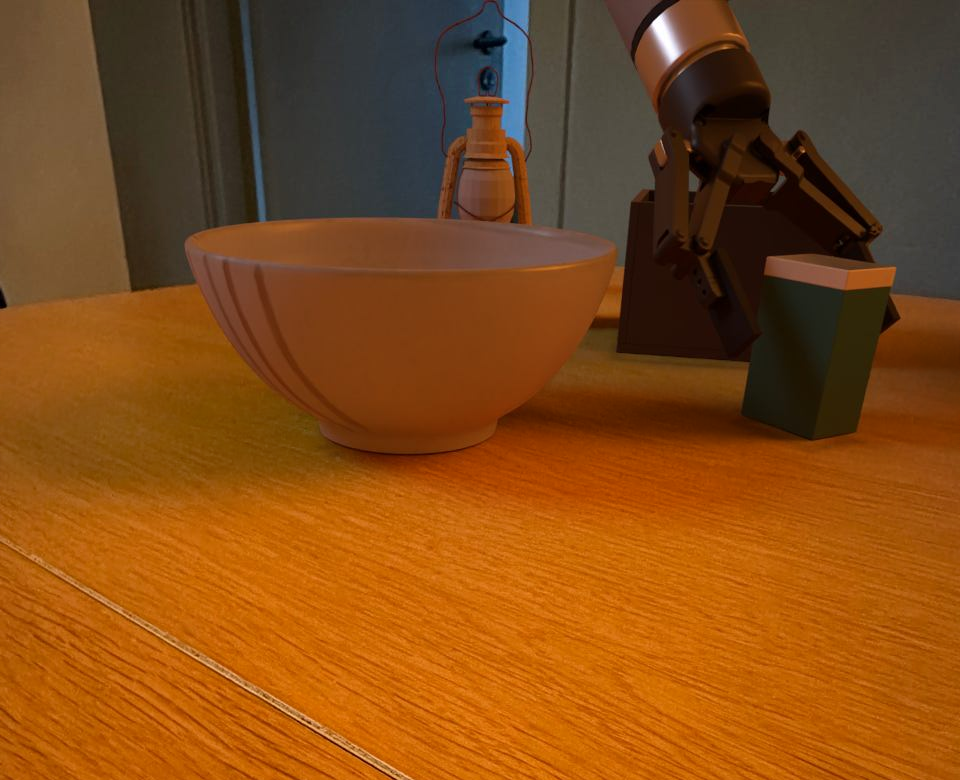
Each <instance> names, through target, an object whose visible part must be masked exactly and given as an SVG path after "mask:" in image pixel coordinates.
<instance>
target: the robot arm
mask: <svg viewBox="0 0 960 780" xmlns="http://www.w3.org/2000/svg"><path fill="white" fill-rule="evenodd" d="M729 1H730V0H604V2H605V7H606V9H607V11H608V12H609V14H610V16H611V18H612V20H613V22H614V24H615V26H616V28H617V31H618V33H619V35H620V37H621V40H622V43H623V44H624V47H625V48H626V50H627V53H628V55H629V57H630V60H631V61H632V64H633V66H634V68H635V70H636V71H637V74H638V76H639V78H640V80H641V82H642V85H643V86H644V89H645V91H646V94H647V96H648V98H649V101H650V103H651V105H652V107H653V110H654V112H655V114H656V115H657V121H658V123H659V126H660V129H661V131H662V135H661V136H660V138H659V140H658V141H657V142H656V144H655V145H654V146H653V148H652V149H651V151H650V153H649V154H648V156H647V159H648V162H649V166H650V168H651V171H652V175H653V177H654V190H655V196H654V228H653V259H654V261H655V262H656V263H657V264H658V265H659V266H666V265H667V264H668V263H673V264H674V265H673V267H672V268H671V274H672V276H673V277H674V278H675V279H677V280H680V281H682V280H684V279H685V278H686V277H687V275H688V277H689V280H690V282H691V284H692V287H693V289H694V290H695V294H696V295H697V298H698V301H699V303H700V304H701V306H702V307H703V308H704V309H705V310H708V312H709V314H710V317H711V319H712V321H713V324H714V326H715V328H716V331H717V333H718V335H719V337H720V340H721V342H722V344H723V347H724V349H725V351H726V354H727V356H728V358H735V357H738V356H739V355H740V354H741V353H742V352H743V351H744V350H745V349H746V348H747V347H749V346H750V345H751V344H752V343H753V342H754V341H755V340H756V339H757V338H758V337H759V336H760V335H762V331H761V329H760V327H759V325H758V322H757V320H756V318H755V315H754V313H753V311H752V309H751V306H750V304H749V302H748V300H747V297H746V295H745V293H744V291H743V288H742V286H741V284H740V282H739V279H738V277H737V275H736V273H735V270H734V268H733V266H732V264H731V261H730V259H729V257H728V255H727V252H726V250H725V248H724V249H716V250H715V251H714V252H713V253H712V254H710V252H709V250H710V249H711V248H712V246H713V242H714V239H715V236H716V232H717V229H718V226H719V222H720V219H721V216H722V212H723V209H724V206H725V202H727V203H737V202H740V201H745V202H749V203H759V204H760V205H761V206H762V207H764V208H765V209H766V210H768V211H774V210H777V211H779V212H780V213H781V214H782V215H783V216H785V217H786V218H787V219H788V220H789V221H791V222H792V223H793V224H794V225H795V226H797V227H798V228H799V229H800V230H801V231H803V232H804V233H805V234H806V235H808V236H809V237H810V238H811V239H812V240H814V241H815V242H816V243H817V244H818V245H820V246H821V247H822V248H823V249H824V250H826V251H827V252H828V253H829V254H830V255H832V257H837V258H843V259H849V260H855V261H862V262H868V263H874V264H877V262H876V260H875V258H874V256H873V254H872V252H871V249H870V244H871V243H873V242H874V241H875V240H876V239H877V238H878V237H880V235H881V234H882V233H883V231H884V227H883V225H882V224H881V222H880V221H879V220H878V219H877V218H876V216H874V214H873V213H872V212H871V211H870V210H869V209H868V207H866V206H865V205H864V203H863V202H862V201H861V200H860V199H859V198H858V196H856V194H855V193H854V192H853V191H852V190H851V188H849V186H848V185H847V184H846V183H845V182H844V181H843V180H842V178H841V177H840V176H839V175H838V174H837V173H836V172H835V170H833V168H832V167H831V166H830V165H829V164H828V163H827V162H826V161H825V159H823V157H822V156H821V155H820V154H819V152H818V149H817V148H816V147H815V145H814V143H813V141H812V140H811V138H810V136H809V135H808V133H807V132H806V131H804V130H802V129H798V130H797V131H796V132H795V133H794V135H792V137H791V138H790V139H788V140H781V138H779V137H778V136H777V134H776V133H775V132H774V131H773V129H772V128H771V126H770V125H769V119H770V111H771V104H772V95H771V91H770V88H769V86H768V84H767V82H766V80H765V78H764V76H763V74H762V71H761V69H760V67H759V65H758V62H757V60H756V59H755V56H754V55H753V54H752V53H751V52H750V51H751V49H750V44H749V42H748V40H747V38H746V36H745V34H744V31H743V30H742V28H741V26H740V24H739V21H738V19H737V17H736V16H735V13H734V11H733V9H732V7H731V6H730V4H729ZM690 172H691V174H693V175H694V176H695V177H696V178H697V179H698V186H697V190H696V191H697V192H696V196H695V199H694V202H693V204H694V205H695V206H694V209H693V212H692V216H691V219H690V222H689V225H688V215H689V191H690ZM780 176H781V177H784V180H783V181H782V183H780V185H779V186H777V188H776V189H775V190H774V191H772V190H773V189H774V187H776V185H777V184H778V182H779V180H780ZM901 319H902V318H901V315H900V313H899V311H898V308H897V307H896V305H895V303H894V301H893V299H892V297H891V295H890V293H889V297H888V302H887V306H886V310H885V314H884V318H883V322H882V327H881V331H880V335H882V334H883V333H884V332H886V331H887V330H888V329H889V328H891V327H892V326H893V325H894V324H896V323H897V322H898V321H900V320H901Z"/></svg>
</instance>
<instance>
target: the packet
mask: <svg viewBox="0 0 960 780" xmlns="http://www.w3.org/2000/svg"><path fill="white" fill-rule="evenodd" d="M896 271H897V267H896V266H891V265H887V264H886V265H885V264H879V263H876V264H874V263H868V262H862V261H855V260H849V259H843V258H837V257H833V256H832V257H831V256H825V255H819V254H800V255H784V256H768V257H767V259H766V265H765V271H764V275H765V276H764V282H763V288H762V294H761V299H760V305H759V311H758V317H757V322H758V325H759V327H760V329H761V331H762V335H760V336H759V337H758V338H757V339H756V340H755V341H754V342H753V346H752V352H751V358H750V361H749V365H748V370H747V375H746V381H745V388H744V394H743V400H742V404H741V411H740V415H742V416H745V417H748V418H750V419H753V420H755V421H759V422H761V423H764V424H766V425H770V426H772V427H776V428H778V429H780V430H784V431H786V432H789V433H791V434H794V435H797V436H799V437H800V436H801V437H803V438H805V439H809V440H811V441H815V440H820V439H826V438H831V437H836V436H841V435H847V434H851V433H857V431H858V427H859V422H860V418H861V414H862V411H863V410H862V409H863V405H864V401H865V399H866V398H865V397H866V393H867V389H868V384H869V380H870V376H871V372H872V369H873V364H874V361H875V355H876V352H877V348H878V347H877V346H878V343H879V339H880V335H881V334H880V331H881V327H882V322H883V318H884V314H885V310H886V306H887V302H888V297H889V294H890V293H891V289H892V286H893V285H894V279H895V276H896Z"/></svg>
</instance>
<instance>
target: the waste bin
mask: <svg viewBox="0 0 960 780" xmlns="http://www.w3.org/2000/svg"><path fill="white" fill-rule="evenodd" d="M696 192H697V190H689V215H688V225H689V222H690V219H691V216H692V212H693V209H694V206H695V205H694V204H693V202H694V199H695V196H696ZM654 196H655V189H652V188H651V189H650V188H649V189H648V188H642V189H641V190H640V191H639V192H638V194H637V195H635V197H634V198H633V199H632V200H631V201H630V205H629V206H630V207H629V217H628V227H627V236H626V246H625V257H624V258H625V259H624V267H623V277H622V288H621V297H620V298H621V299H620V309H619V310H620V311H619V320H618V329H617V330H618V331H617V339H616V349H615V351H616V353H624V354H627V353H628V354H640V355H651V356H652V355H653V356H666V357H667V356H668V357H679V358H681V357H682V358H695V359H712V360H723V361H724V360H725V361H737V362H738V361H739V362H750V358H751V352H752V346H753V343H752V344H751V345H750V346H749V347H747V348H746V349H745V350H744V351H743V352H742V353H741V354H740V355H739V356H738V357H735V358H728V356H727V354H726V351H725V349H724V347H723V344H722V342H721V340H720V337H719V335H718V333H717V331H716V328H715V326H714V324H713V321H712V319H711V317H710V314H709V312H708V310H705V309H704V308H703V307H702V306H701V304H700V303H699V301H698V298H697V295H696V294H695V290H694V289H693V287H692V284H691V282H690V280H689V277H688V275H687V277H686V278H685V279H684V280H682V281H680V280H677V279H675V278H674V277H673V276H672V274H671V268H672V267H673V265H674V264H673V263H668V264H667V265H666V266H659V265H658V264H657V263H656V262H655V261H654V259H653V228H654ZM724 248H725V250H726V252H727V255H728V257H729V259H730V261H731V264H732V266H733V268H734V270H735V273H736V275H737V277H738V279H739V282H740V284H741V286H742V288H743V291H744V293H745V295H746V297H747V300H748V302H749V304H750V306H751V309H752V311H753V313H754V315H755V318H756V320H757V317H758V311H759V305H760V299H761V294H762V288H763V282H764V276H765V275H764V271H765V265H766V259H767V257H768V256H784V255H800V254H819V255H825V256H831V257H833V256H832V255H830V254H829V253H828V252H827V251H826V250H824V249H823V248H822V247H821V246H820V245H818V244H817V243H816V242H815V241H814V240H812V239H811V238H810V237H809V236H808V235H806V234H805V233H804V232H803V231H801V230H800V229H799V228H798V227H797V226H795V225H794V224H793V223H792V222H791V221H789V220H788V219H787V218H786V217H785V216H783V215H782V214H781V213H780V212H779V211H777V210H774V211H768V210H766V209H765V208H764V207H762V206H761V205H760V204H759V203H749V202H745V201H740V202H737V203H727V202H725V206H724V209H723V212H722V216H721V219H720V222H719V226H718V229H717V232H716V236H715V239H714V242H713V246H712V248H711V249H710V250H709V252H710V254H712V253H713V252H714V251H715V250H716V249H724Z"/></svg>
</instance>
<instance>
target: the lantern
mask: <svg viewBox="0 0 960 780" xmlns="http://www.w3.org/2000/svg"><path fill="white" fill-rule="evenodd" d="M487 3H494V4H495V5H496V9H497V13H498V14H499V15H500V17H501V18H503V19H504V20H505V21H507V22H509V23H510V24H512V25H514V26H515V27H516V28H517V29H519V30H520V31H521V32H522V34H523V35H524V36H525V37H526V38H527V40H528V43H529V50H530V59H531V78H530V83H529V87H528V91H527V93H526V109H525V117H524V122H525V126H526V129H527V132H528V137H529V145H530V147H529V151H528V154H527V155H526V156H525V151H524V148H523V147H522V145H521V143H520V142H519V141H518V140H516V139H515V138H514V137H511V136H506V129H505V128H501V117H503V115H504V105H509V104H510V100H508V99H505V98H502V97H498V96H497V92H498V87H499V74H498V72H497V70H495V68H493V67H492V66H491V65H486V66H484V67H483V68H482V69H481V70H480V71H479V73H478V75H477V86H478V87H477V88H478V96H474V97H469V98H465V99H463V102H464V103H465V104H470V107H469V110H470V111H469V112H470V113H469V115H470V116H472V128H471V127H468V128H466V135H461V136H458V137H457V138H455V139H454V140H453V141H452V142H451V143H450V145H449V147H448V150H447V153H445V151H444V133H445V127H446V121H447V119H446V101H445V98H444V95H443V92H442V89H441V86H440V82H439V78H438V72H437V58H438V56H437V55H438V50H439V44H440V41H441V39H442V37H443V36H444V35H445V34H446V33H447V32H448V31H450V30H451V29H453V28H455V27H456V26H458V25H461V24H463V23H466V22H468V21H471V20H473V19H474V18H477V17H478V16H479V15H481V14H483V11H484V10H485V7H486V6H485V5H486V4H487ZM433 66H434V77H435V81H436V85H437V88H438V91H439V94H440V97H441V100H442V106H443V107H442V108H443V110H442V111H443V113H442V114H443V124H442V129H441V137H440V140H441V141H440V146H441V147H440V149H441V152H442V154H443V156H444V157H445V158H446V159H445V164H444V171H443V177H442V183H441V187H440V195H439V202H438V209H437V216H436V217H437V218H436V219H452V211H453V204H454V205H456V209H457V215H458V218H459V220H474V221H489V222H502V223H511V220H512V218H513V216H514V211H515V207H516V208H517V221H518V224H524V225H533V220H532V208H531V197H530V189H529V181H528V172H527V171H528V170H527V163H526V162H528V159H529V157H530V155H531V152H532V151H533V142H532V141H533V140H532V135H531V130H530V128H529V123H528V112H529V111H528V109H529V101H530V92H531V89H532V85H533V80H534V75H535V74H534V55H533V44H532V41H531V38H530V37H529V35H528V34H527V32H525V30H524V29H523V28H522V27H520V25H519V24H517V23H516V22H514V21H513V20H511V19H509V18H508V17H506V16H505V15H504V14H503V13H502V12H501V10H500V6H499V2H498V1H496V0H484V1H483V3H482V7H481V9H480V10H479V11H478V12H477V13H476V14H473V15H471V16H470V17H467V18H465V19H462V20H460V21H458V22H456V23H454V24H452V25H451V26H448V27H447V28H445V30H444V31H443V32H442V33H441V34H440V35H439V37H438V39H437V41H436V46H435V52H434V65H433ZM486 69H491V70H492V71H493V73H495V75H496V85H495V92H494V95H493V94H490V90H485V94H481V85H480V77H481V74H482V73H483V72H484V71H485V70H486ZM474 104H486V105H474ZM492 104H494V105H495V104H497V105H498V106H496V105H495V106H494V105H492ZM499 105H500V106H499ZM508 153H509V154H508ZM461 158H467V159H465V160H463V161H462V165H461V166H460V163H461ZM510 158H511V159H510ZM507 159H510V160H511V165H512V166H511V167H510V161H507ZM459 168H462V169H461V172H460V174H459ZM511 168H512V170H511ZM458 174H459V177H458ZM456 185H457V188H456ZM455 191H456V195H455ZM455 196H456V197H455ZM454 198H456V200H454Z"/></svg>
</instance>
